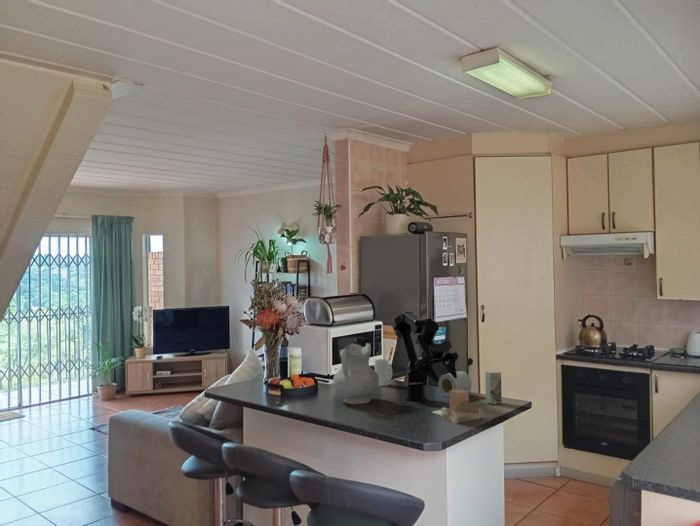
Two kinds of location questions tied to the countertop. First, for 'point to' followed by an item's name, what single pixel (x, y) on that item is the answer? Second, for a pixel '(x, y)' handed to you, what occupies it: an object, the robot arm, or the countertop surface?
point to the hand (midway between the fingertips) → (447, 379)
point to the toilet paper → (454, 382)
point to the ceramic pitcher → (356, 375)
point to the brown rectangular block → (458, 397)
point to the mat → (438, 412)
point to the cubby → (463, 412)
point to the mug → (383, 371)
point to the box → (493, 387)
